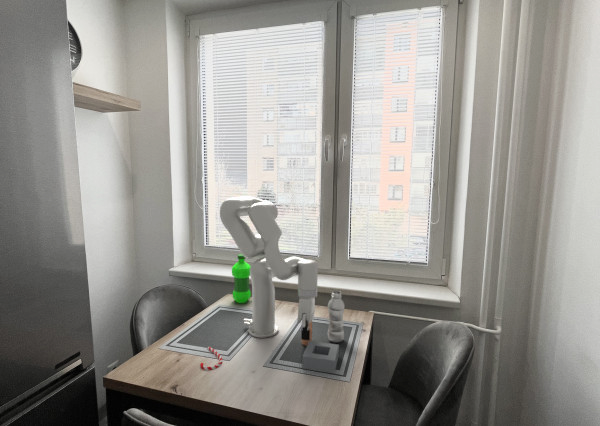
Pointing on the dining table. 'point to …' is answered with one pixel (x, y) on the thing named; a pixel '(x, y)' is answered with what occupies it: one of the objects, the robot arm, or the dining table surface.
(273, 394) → the dining table surface
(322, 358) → the socket block
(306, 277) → the robot arm
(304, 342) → the peg
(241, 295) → the plastic bottle
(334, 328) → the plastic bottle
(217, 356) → the candy cane
